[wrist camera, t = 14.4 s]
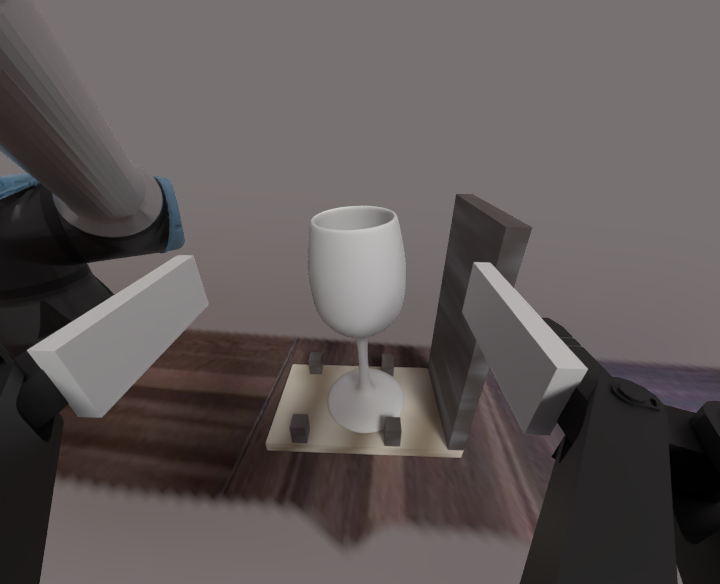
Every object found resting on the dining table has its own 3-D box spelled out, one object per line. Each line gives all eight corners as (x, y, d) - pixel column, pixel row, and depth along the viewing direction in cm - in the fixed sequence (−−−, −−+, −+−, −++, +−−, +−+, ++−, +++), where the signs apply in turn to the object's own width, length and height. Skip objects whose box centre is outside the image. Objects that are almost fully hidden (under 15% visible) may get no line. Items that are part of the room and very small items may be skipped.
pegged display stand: (267, 450, 28) (206, 223, 17) (293, 370, 38) (266, 192, 26) (461, 457, 28) (532, 227, 16) (437, 374, 37) (472, 194, 26)
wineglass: (416, 387, 33) (430, 208, 22) (379, 450, 27) (371, 245, 16) (356, 360, 37) (342, 199, 26) (312, 408, 31) (270, 225, 20)
